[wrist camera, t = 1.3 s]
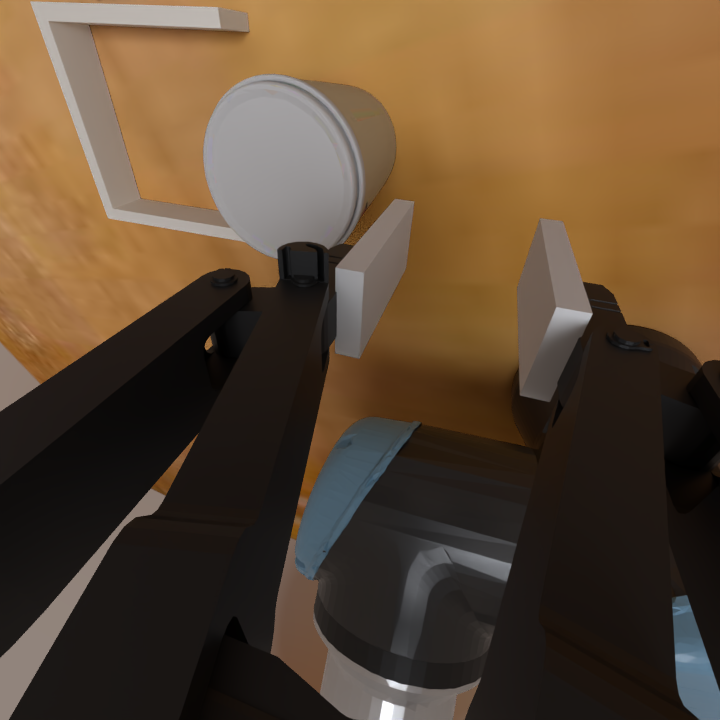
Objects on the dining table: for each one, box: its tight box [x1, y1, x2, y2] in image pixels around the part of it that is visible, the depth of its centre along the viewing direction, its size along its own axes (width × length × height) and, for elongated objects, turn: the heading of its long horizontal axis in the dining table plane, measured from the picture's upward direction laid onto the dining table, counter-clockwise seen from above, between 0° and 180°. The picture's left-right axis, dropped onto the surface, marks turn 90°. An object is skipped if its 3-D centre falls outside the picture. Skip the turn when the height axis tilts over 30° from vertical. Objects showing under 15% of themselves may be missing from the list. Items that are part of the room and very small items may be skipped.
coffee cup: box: [203, 74, 396, 259], centre depth 25 cm, size 9×9×12 cm
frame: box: [31, 2, 249, 242], centre depth 31 cm, size 15×15×4 cm
